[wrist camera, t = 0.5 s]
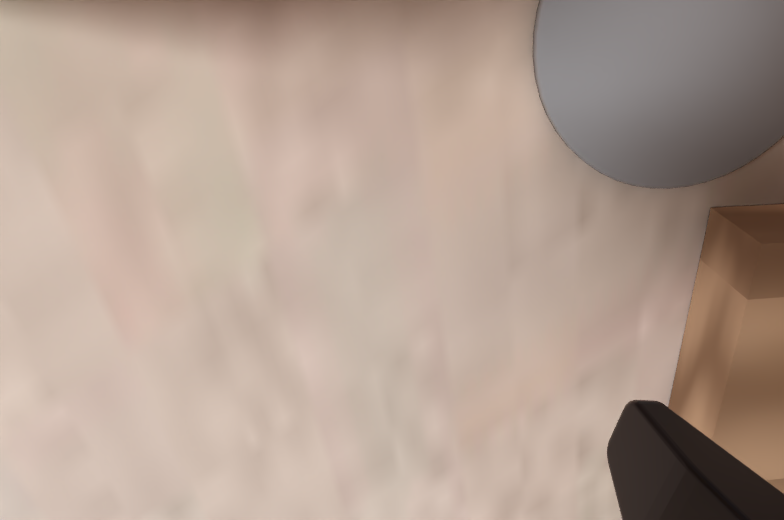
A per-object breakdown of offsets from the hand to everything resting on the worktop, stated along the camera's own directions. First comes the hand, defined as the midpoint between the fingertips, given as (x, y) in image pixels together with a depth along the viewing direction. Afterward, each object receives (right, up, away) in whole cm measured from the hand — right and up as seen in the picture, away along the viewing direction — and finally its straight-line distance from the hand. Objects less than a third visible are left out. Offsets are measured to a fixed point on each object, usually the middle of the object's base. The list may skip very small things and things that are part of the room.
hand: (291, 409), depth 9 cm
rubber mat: (+10, +9, +14) cm, 19 cm away
